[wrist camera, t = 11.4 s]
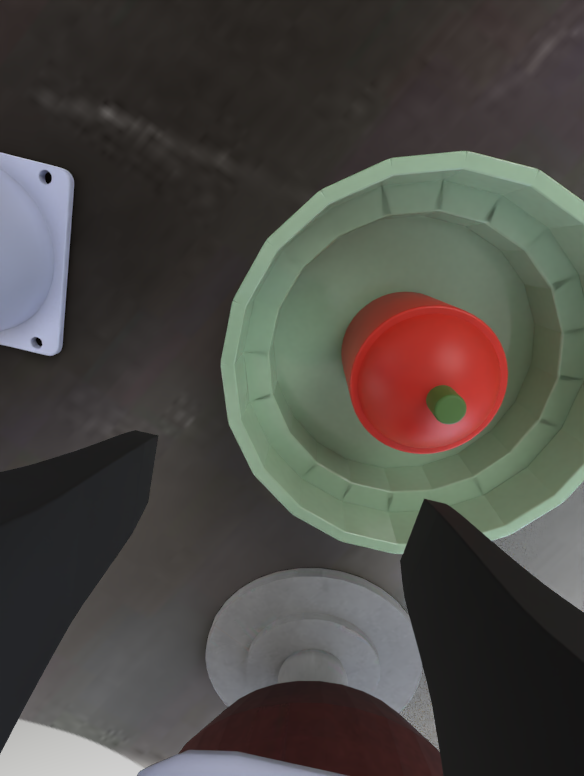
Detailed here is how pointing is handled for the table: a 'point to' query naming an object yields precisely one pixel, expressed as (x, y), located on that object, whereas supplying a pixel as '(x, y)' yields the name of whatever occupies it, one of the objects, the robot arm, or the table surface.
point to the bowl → (440, 281)
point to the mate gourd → (317, 676)
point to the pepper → (422, 372)
